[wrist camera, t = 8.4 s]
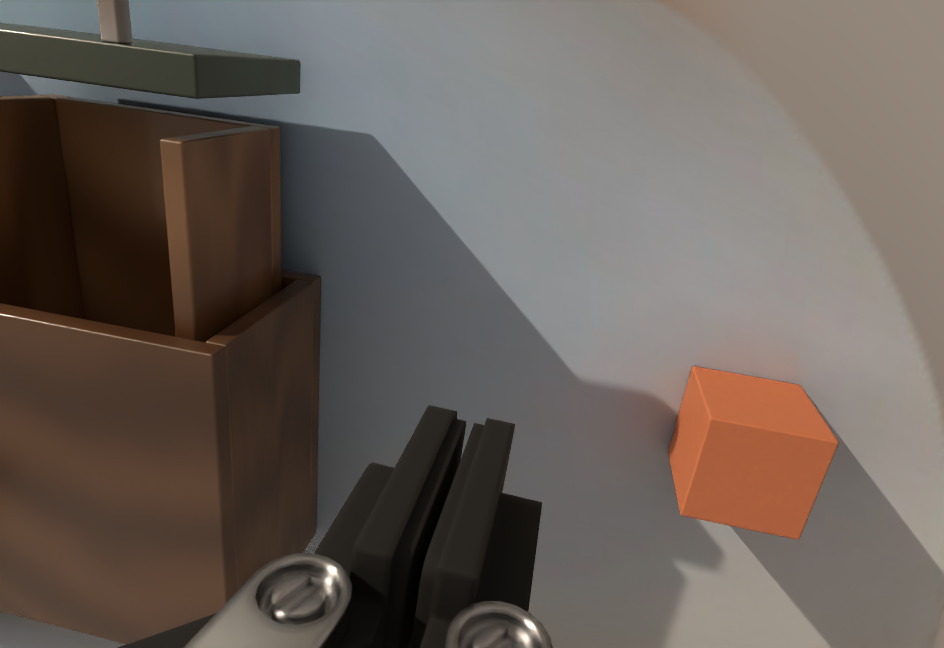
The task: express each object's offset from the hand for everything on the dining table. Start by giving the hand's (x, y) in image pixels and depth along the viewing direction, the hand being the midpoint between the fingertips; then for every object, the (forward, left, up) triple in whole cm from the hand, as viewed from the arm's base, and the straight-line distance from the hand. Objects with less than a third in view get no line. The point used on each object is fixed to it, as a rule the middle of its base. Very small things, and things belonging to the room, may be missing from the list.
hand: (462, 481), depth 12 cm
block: (+6, +9, -15) cm, 19 cm away
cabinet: (+10, -16, -15) cm, 24 cm away
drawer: (-3, -16, -14) cm, 21 cm away
